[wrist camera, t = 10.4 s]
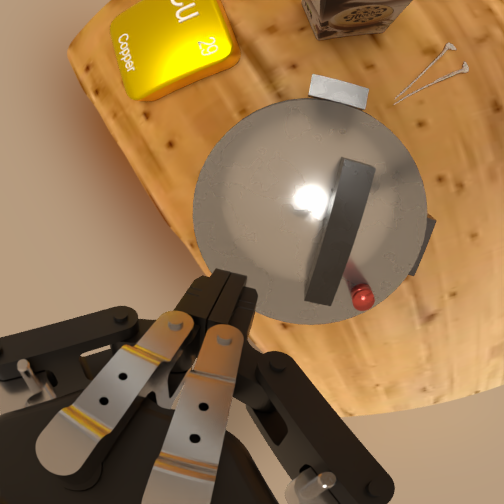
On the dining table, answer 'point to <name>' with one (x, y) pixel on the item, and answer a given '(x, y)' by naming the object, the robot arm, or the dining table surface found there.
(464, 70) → the tweezers
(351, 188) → the cooker lid
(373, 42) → the dining table surface
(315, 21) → the coffee box
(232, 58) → the element tile
